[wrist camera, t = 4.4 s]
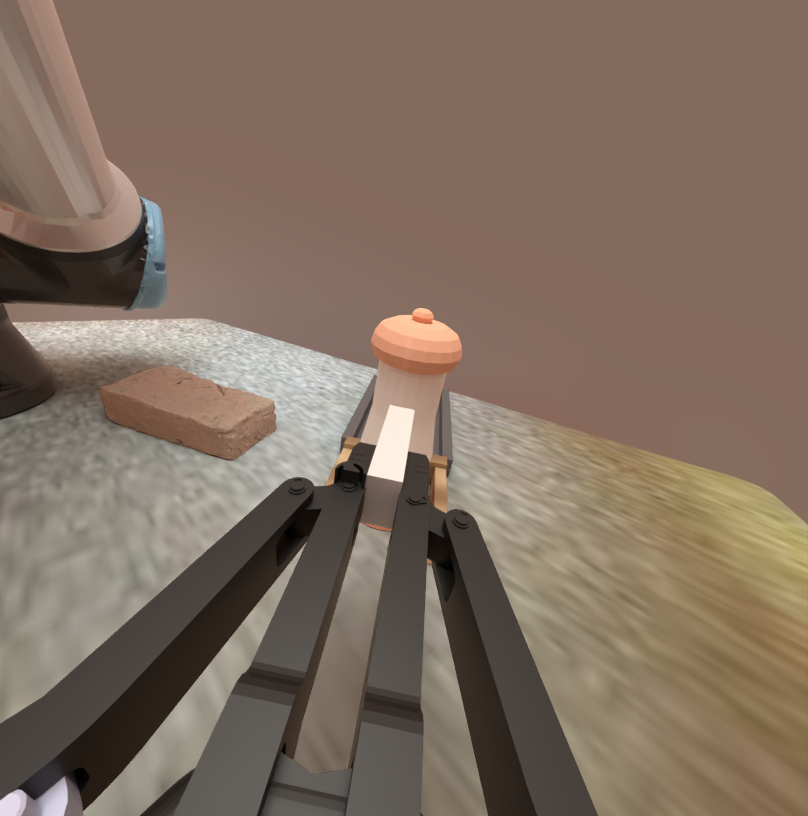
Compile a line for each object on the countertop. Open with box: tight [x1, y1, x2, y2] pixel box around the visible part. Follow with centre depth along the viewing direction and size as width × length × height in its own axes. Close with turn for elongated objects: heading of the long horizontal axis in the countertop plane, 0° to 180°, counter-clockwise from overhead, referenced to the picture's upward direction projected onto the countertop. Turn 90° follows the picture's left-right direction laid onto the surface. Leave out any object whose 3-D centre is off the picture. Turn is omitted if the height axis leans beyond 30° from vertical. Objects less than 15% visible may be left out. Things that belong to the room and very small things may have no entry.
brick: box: [99, 366, 276, 460], centre depth 37 cm, size 17×8×5 cm, turn 75°
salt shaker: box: [360, 308, 462, 531], centre depth 28 cm, size 7×7×19 cm
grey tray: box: [340, 375, 453, 477], centre depth 46 cm, size 20×13×2 cm, turn 174°
